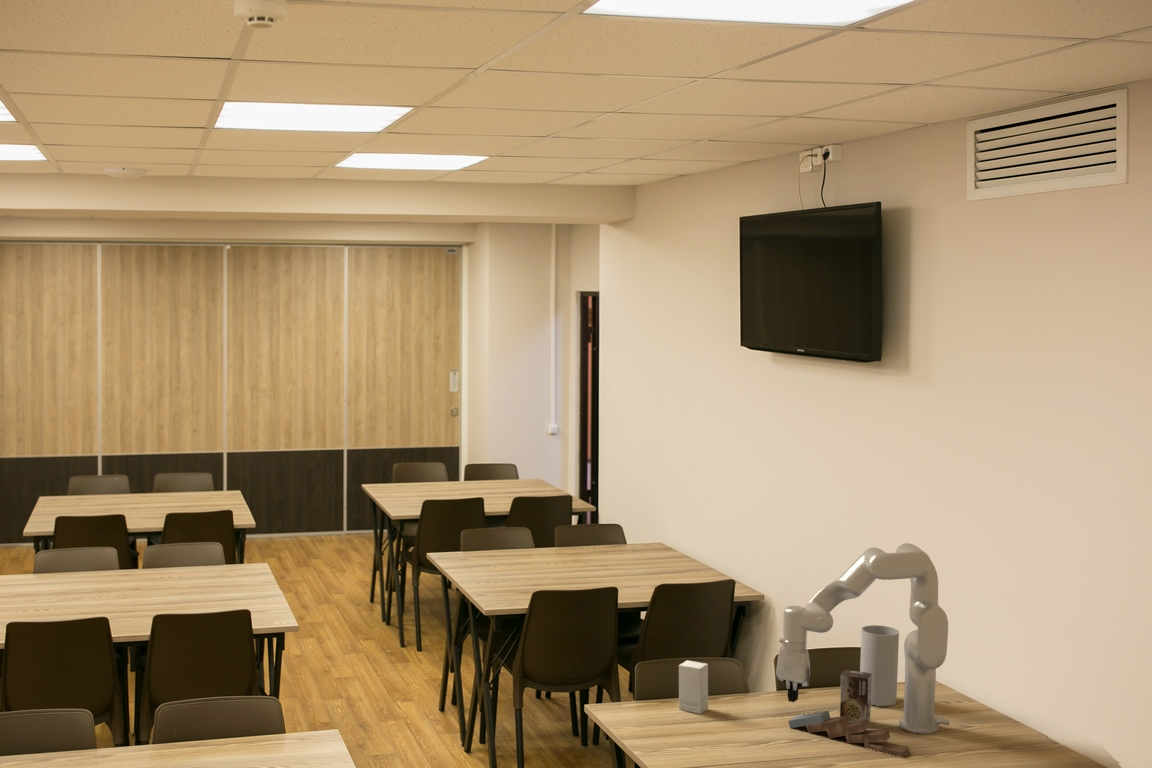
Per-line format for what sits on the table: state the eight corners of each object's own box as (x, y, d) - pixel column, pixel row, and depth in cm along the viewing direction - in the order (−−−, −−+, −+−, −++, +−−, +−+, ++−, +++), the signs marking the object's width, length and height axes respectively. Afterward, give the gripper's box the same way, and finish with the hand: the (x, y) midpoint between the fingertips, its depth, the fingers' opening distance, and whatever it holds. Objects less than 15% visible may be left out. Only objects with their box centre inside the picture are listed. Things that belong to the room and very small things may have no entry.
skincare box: (708, 709, 374) (709, 663, 373) (699, 715, 369) (701, 668, 368) (686, 704, 379) (687, 659, 378) (677, 709, 373) (678, 664, 372)
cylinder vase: (853, 695, 391) (856, 625, 390) (887, 694, 393) (890, 625, 391) (866, 707, 379) (869, 635, 377) (902, 707, 380) (904, 635, 379)
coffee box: (870, 721, 366) (872, 672, 365) (867, 727, 360) (868, 678, 359) (842, 716, 370) (844, 668, 369) (838, 722, 364) (840, 674, 363)
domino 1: (816, 728, 359) (849, 722, 352) (808, 733, 354) (841, 727, 347) (813, 720, 359) (846, 715, 352) (806, 725, 355) (839, 720, 348)
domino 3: (853, 738, 351) (890, 737, 344) (847, 743, 346) (884, 742, 340) (852, 730, 351) (888, 729, 344) (845, 735, 346) (882, 734, 340)
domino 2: (836, 733, 354) (870, 726, 348) (829, 738, 350) (863, 731, 343) (833, 726, 355) (867, 719, 348) (826, 730, 350) (861, 723, 344)
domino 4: (871, 745, 347) (909, 755, 340) (864, 750, 343) (902, 760, 336) (871, 737, 347) (909, 747, 340) (864, 742, 343) (902, 752, 335)
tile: (798, 723, 363) (830, 717, 356) (790, 728, 358) (823, 722, 351) (795, 716, 363) (828, 710, 356) (788, 720, 359) (820, 715, 352)
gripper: (768, 643, 361) (766, 698, 362) (810, 652, 352) (808, 709, 353) (779, 638, 367) (777, 692, 368) (821, 647, 358) (819, 703, 359)
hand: (792, 700), depth 360 cm, fingers closed
